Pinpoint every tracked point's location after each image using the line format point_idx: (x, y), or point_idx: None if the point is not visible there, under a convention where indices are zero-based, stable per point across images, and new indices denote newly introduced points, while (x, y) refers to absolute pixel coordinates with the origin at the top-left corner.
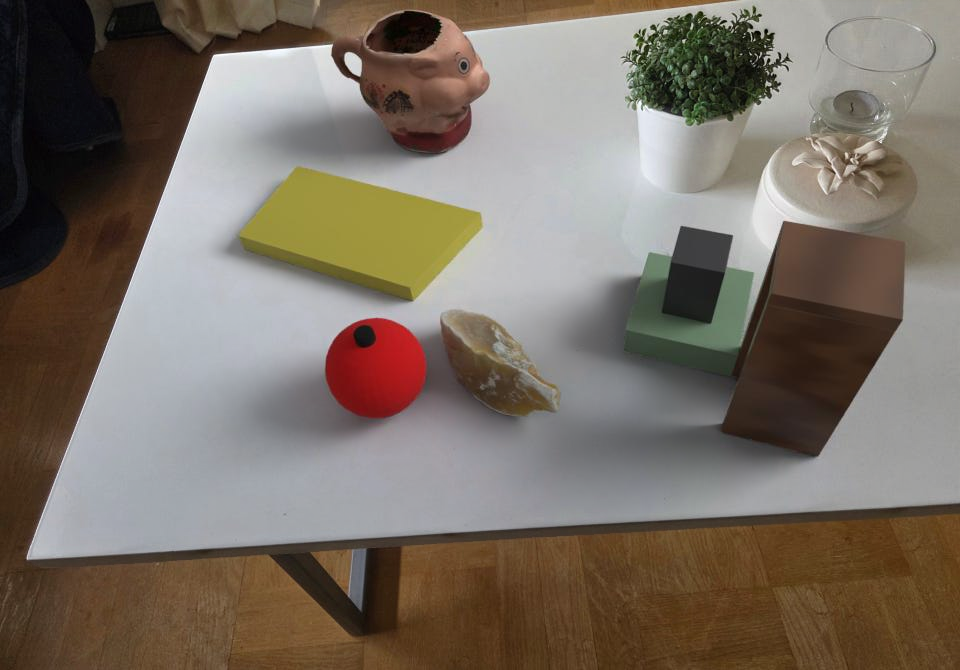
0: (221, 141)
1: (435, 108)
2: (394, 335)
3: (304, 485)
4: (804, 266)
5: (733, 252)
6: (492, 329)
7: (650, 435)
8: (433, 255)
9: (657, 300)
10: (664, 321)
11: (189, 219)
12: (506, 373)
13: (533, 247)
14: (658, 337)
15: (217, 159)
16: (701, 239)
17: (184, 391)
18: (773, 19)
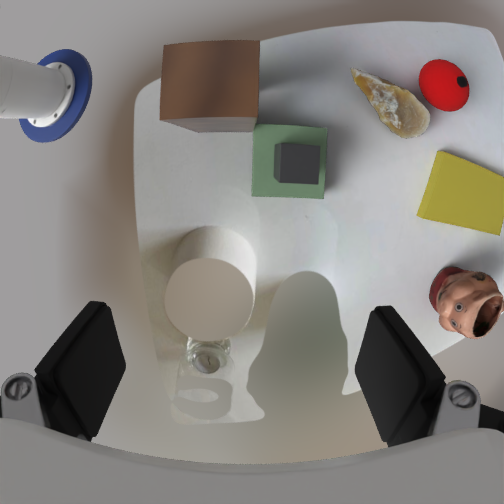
0: None
1: (462, 280)
2: (449, 87)
3: (437, 43)
4: (236, 70)
5: (264, 228)
6: (400, 121)
7: (292, 77)
8: (439, 178)
9: None
10: (304, 139)
11: None
12: (386, 82)
13: (387, 204)
14: (305, 126)
15: None
16: (301, 173)
17: (493, 92)
18: (261, 413)
